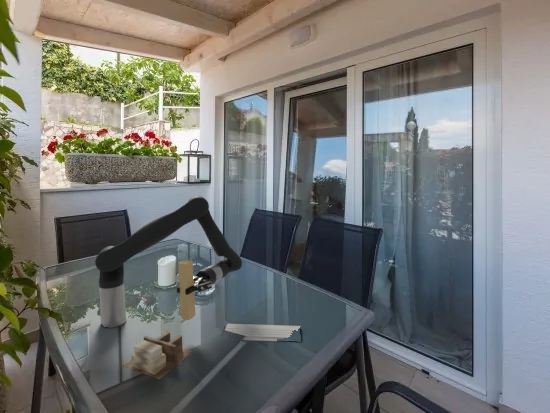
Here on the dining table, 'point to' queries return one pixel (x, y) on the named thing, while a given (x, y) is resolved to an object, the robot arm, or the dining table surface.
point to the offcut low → (149, 363)
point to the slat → (184, 283)
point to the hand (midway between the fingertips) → (181, 291)
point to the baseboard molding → (261, 331)
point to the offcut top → (148, 350)
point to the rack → (170, 349)
